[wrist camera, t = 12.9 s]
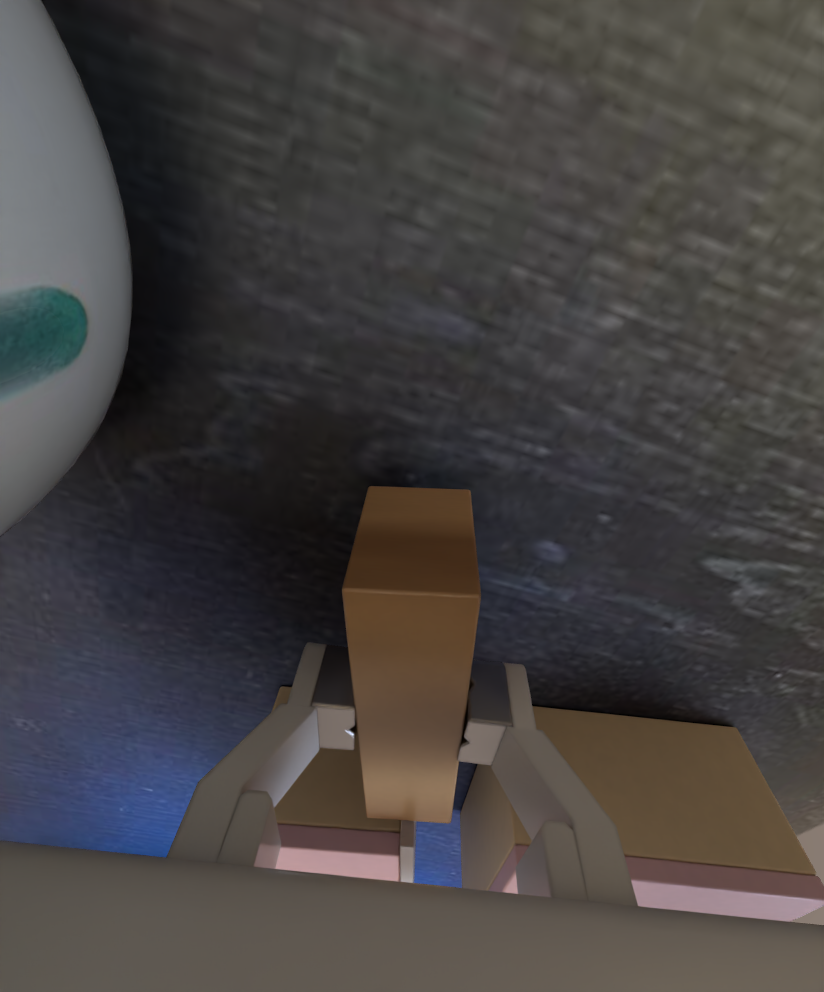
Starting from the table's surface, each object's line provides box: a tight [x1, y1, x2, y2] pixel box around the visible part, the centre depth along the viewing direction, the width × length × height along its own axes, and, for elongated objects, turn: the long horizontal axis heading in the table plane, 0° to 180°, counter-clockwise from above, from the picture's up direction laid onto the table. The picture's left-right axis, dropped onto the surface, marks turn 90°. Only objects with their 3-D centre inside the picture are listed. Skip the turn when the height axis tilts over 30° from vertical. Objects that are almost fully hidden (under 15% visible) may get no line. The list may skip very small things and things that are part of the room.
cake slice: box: [272, 686, 401, 882], centre depth 17 cm, size 5×10×5 cm, turn 179°
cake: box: [460, 706, 824, 922], centre depth 17 cm, size 9×10×5 cm
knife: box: [342, 486, 481, 883], centre depth 15 cm, size 22×2×4 cm, turn 179°
